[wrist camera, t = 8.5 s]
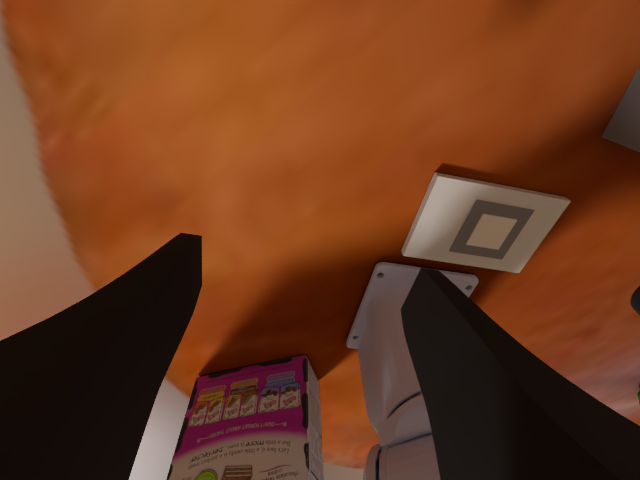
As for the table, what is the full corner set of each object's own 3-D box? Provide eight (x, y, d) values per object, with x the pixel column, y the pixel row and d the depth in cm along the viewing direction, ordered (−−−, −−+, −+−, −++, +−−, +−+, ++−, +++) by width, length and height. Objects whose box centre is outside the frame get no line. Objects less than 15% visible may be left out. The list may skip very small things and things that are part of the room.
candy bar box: (219, 401, 33) (157, 666, 19) (195, 374, 30) (104, 661, 17) (322, 382, 31) (334, 652, 18) (308, 352, 29) (308, 645, 15)
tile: (514, 267, 24) (520, 275, 23) (400, 250, 22) (403, 257, 22) (564, 196, 20) (573, 202, 20) (434, 172, 19) (439, 177, 18)
